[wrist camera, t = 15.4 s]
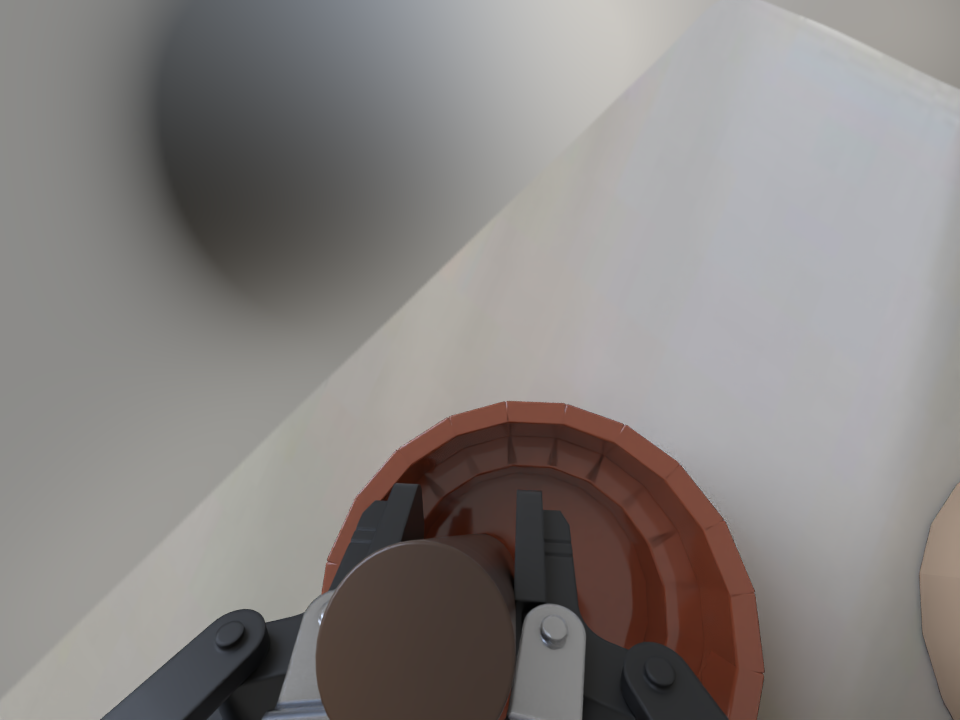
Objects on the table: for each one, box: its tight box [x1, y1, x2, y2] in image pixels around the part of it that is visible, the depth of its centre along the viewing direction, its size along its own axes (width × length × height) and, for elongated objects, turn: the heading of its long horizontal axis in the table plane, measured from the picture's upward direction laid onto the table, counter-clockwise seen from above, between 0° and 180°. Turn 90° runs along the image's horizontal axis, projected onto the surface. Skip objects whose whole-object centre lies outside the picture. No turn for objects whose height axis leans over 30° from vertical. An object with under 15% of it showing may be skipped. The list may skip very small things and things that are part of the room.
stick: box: [315, 534, 516, 720], centre depth 12 cm, size 3×3×12 cm
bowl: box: [321, 401, 765, 720], centre depth 17 cm, size 14×14×6 cm
